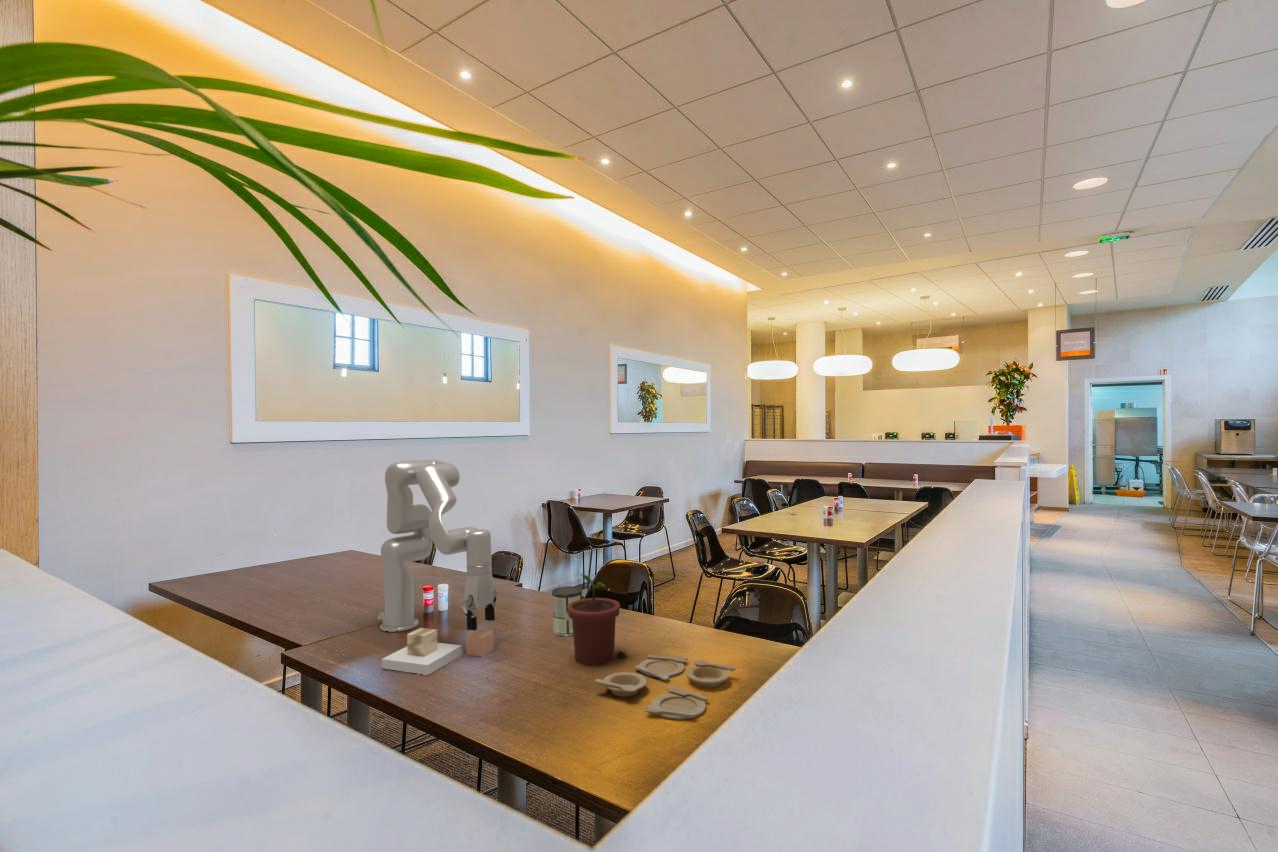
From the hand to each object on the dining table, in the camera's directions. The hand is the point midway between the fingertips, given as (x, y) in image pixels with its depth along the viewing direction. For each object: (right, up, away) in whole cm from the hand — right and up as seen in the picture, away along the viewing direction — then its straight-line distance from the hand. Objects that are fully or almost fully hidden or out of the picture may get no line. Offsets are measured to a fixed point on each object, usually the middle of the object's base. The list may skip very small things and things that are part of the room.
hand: (481, 624), depth 188 cm
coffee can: (+25, -8, +18) cm, 32 cm away
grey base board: (-16, -9, -7) cm, 19 cm away
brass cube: (-16, -6, -7) cm, 18 cm away
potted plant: (+37, -8, -3) cm, 38 cm away
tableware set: (+57, -8, -27) cm, 64 cm away
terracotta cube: (0, -9, 0) cm, 9 cm away
